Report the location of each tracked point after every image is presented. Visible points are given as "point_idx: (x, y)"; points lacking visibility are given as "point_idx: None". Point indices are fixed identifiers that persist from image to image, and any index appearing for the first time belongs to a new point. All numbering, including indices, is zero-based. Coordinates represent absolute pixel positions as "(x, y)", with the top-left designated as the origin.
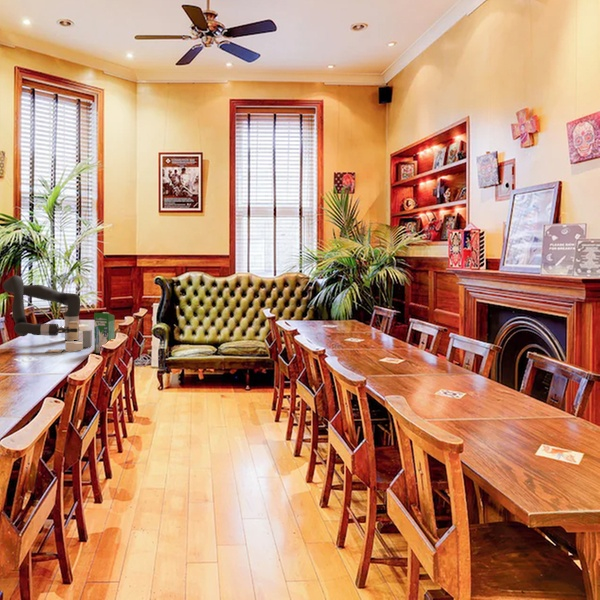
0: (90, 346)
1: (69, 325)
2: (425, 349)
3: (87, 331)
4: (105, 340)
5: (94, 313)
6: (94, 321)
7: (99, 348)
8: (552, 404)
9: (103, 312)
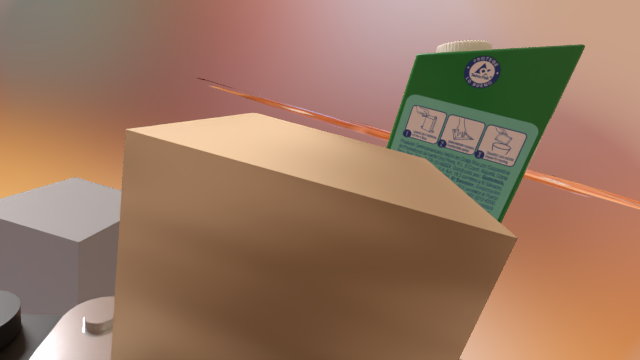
0: None
1: (445, 345)
2: (365, 124)
3: None
4: None
5: (582, 51)
6: (542, 134)
7: None
8: (555, 176)
9: (490, 44)
